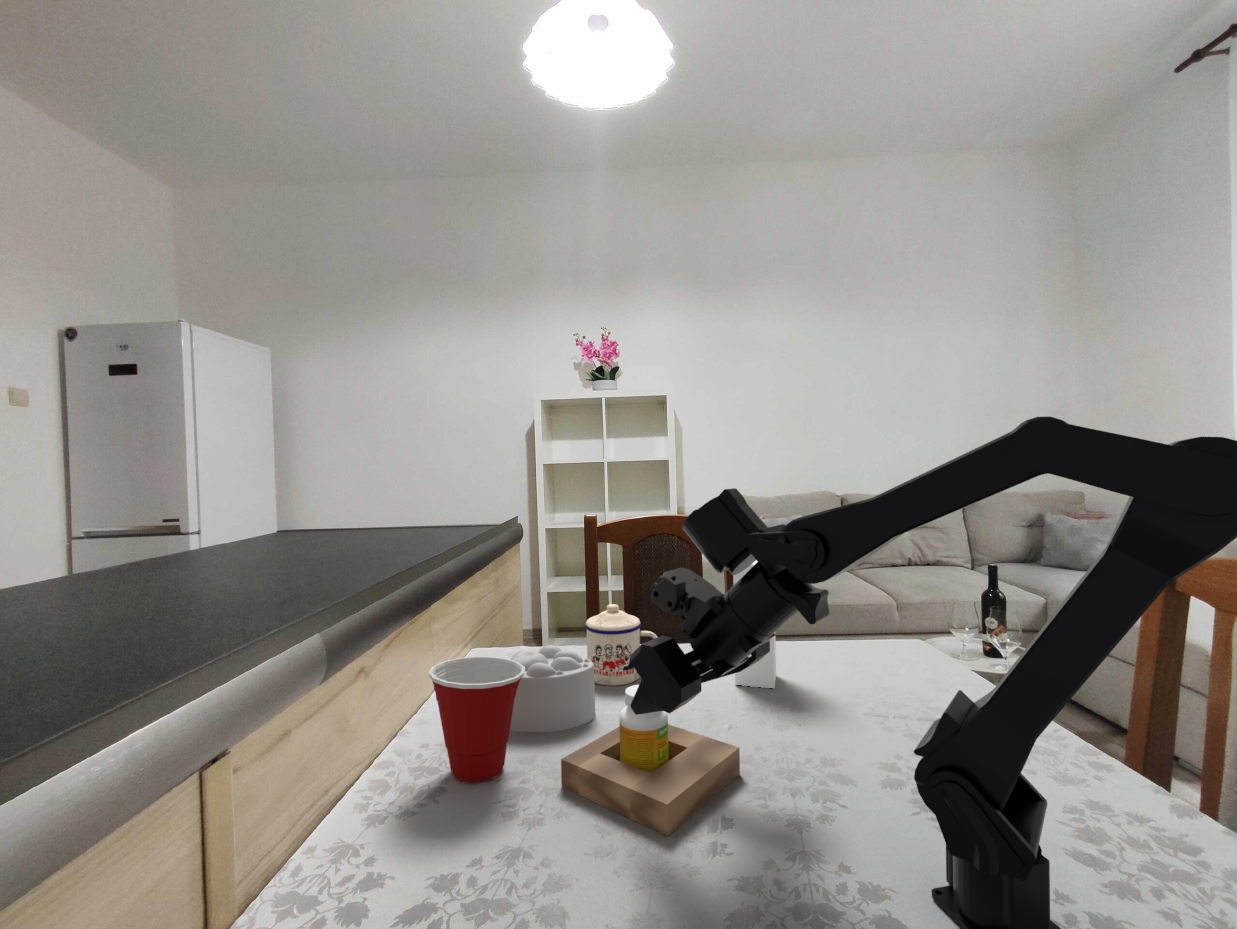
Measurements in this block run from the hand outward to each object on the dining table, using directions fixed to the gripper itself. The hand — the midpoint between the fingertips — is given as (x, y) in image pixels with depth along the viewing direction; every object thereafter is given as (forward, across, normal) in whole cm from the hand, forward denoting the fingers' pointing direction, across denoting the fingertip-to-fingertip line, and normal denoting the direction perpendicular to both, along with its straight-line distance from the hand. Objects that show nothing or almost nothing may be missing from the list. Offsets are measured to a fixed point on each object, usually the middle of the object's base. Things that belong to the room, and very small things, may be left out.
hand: (659, 695), depth 65 cm
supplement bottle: (+9, 0, +5) cm, 10 cm away
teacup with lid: (+24, -23, -10) cm, 34 cm away
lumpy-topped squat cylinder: (+23, -5, -9) cm, 25 cm away
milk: (+11, -34, +3) cm, 36 cm away
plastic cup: (+20, +10, -6) cm, 23 cm away
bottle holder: (+8, 0, +5) cm, 10 cm away
